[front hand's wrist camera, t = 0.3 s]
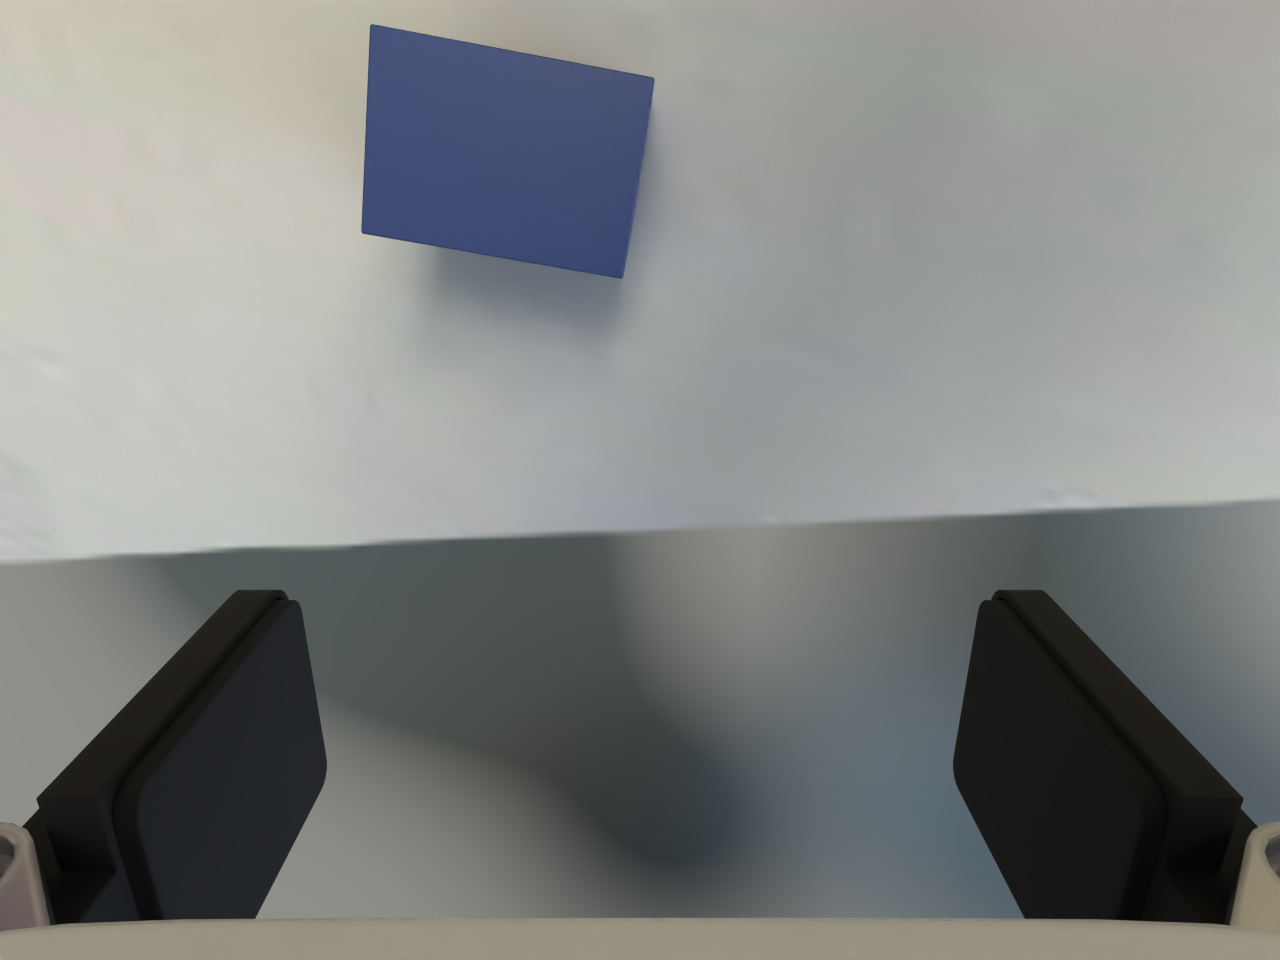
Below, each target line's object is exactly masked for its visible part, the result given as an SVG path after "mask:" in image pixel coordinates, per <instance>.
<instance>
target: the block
mask: <svg viewBox="0 0 1280 960" xmlns="http://www.w3.org/2000/svg"><path fill="white" fill-rule="evenodd" d="M653 88H654V78H653V77H648V76H642V75H637V74H632V73H627V72H621V71H616V70H611V69H606V68H600V67H595V66H590V65H584V64H579V63H574V62H569V61H563V60H558V59H553V58H548V57H542V56H537V55H532V54H526V53H521V52H516V51H511V50H505V49H500V48H495V47H490V46H484V45H479V44H474V43H468V42H463V41H458V40H453V39H447V38H442V37H437V36H432V35H426V34H421V33H416V32H410V31H405V30H400V29H395V28H389V27H384V26H379V25H374V24H372V25H371V26H370V43H369V66H368V90H367V113H366V137H365V160H364V184H363V207H362V233H363V234H369V235H374V236H380V237H386V238H391V239H397V240H403V241H409V242H414V243H420V244H426V245H431V246H437V247H443V248H449V249H454V250H460V251H466V252H471V253H477V254H483V255H489V256H494V257H500V258H506V259H511V260H517V261H523V262H529V263H534V264H540V265H546V266H551V267H557V268H563V269H569V270H574V271H580V272H586V273H591V274H597V275H603V276H609V277H614V278H620V279H621V278H623V274H624V269H625V263H626V258H627V252H628V246H629V240H630V234H631V228H632V221H633V215H634V209H635V203H636V196H637V190H638V184H639V178H640V172H641V165H642V159H643V153H644V147H645V140H646V134H647V128H648V122H649V115H650V109H651V103H652V96H653Z"/></svg>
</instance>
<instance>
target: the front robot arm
mask: <svg viewBox="0 0 1280 960" xmlns="http://www.w3.org/2000/svg"><path fill="white" fill-rule="evenodd" d="M326 771H327V759H326V753H325V746H324V740H323V735H322V729H321V723H320V717H319V711H318V705H317V699H316V693H315V687H314V681H313V675H312V669H311V663H310V657H309V651H308V645H307V639H306V633H305V627H304V622H303V615H302V610H301V607H300V605H299V603H298V602H297V601H296V600H289V599H288V597H287V595H286V593H285V592H283V591H282V590H238V591H236V592H235V593H233V594H232V595H231V596H230V597H229V598H228V599H227V600H226V602H225V603H224V604H223V605H222V606H221V607H220V608H219V609H218V610H217V611H216V612H215V613H214V614H213V615H212V616H211V617H210V618H209V619H208V620H207V621H206V622H205V623H204V624H203V626H202V627H201V628H200V629H199V630H198V631H197V632H196V633H195V634H194V635H193V636H192V637H191V638H190V639H189V640H188V641H187V642H186V643H185V644H184V645H183V646H182V647H181V648H180V649H179V650H178V652H177V653H176V654H175V655H174V656H173V657H172V658H171V659H170V660H169V661H168V662H167V663H166V664H165V665H164V666H163V667H162V668H161V669H160V670H159V671H158V672H157V673H156V674H155V676H154V677H153V678H152V679H151V680H150V681H149V682H148V683H147V684H146V685H145V686H144V687H143V688H142V689H141V690H140V691H139V692H138V693H137V694H136V695H135V696H134V697H133V698H132V699H131V701H130V702H129V703H128V704H127V705H126V706H125V707H124V708H123V709H122V710H121V711H120V712H119V713H118V714H117V715H116V716H115V717H114V718H113V719H112V720H111V721H110V722H109V723H108V724H107V726H106V727H105V728H104V729H103V730H102V731H101V732H100V733H99V734H98V735H97V736H96V737H95V738H94V739H93V740H92V741H91V742H90V743H89V744H88V745H87V746H86V747H85V748H84V749H83V750H82V752H81V753H80V754H79V755H78V756H77V757H76V758H75V759H74V760H73V761H72V762H71V763H70V764H69V765H68V766H67V767H66V768H65V769H64V770H63V771H62V772H61V773H60V774H59V776H58V777H57V778H56V779H55V780H54V781H53V782H52V783H51V784H50V785H49V786H48V787H47V788H46V789H45V790H44V791H43V792H42V793H41V794H40V795H39V796H38V797H37V802H38V805H39V809H38V810H37V812H36V813H35V814H34V815H33V816H32V817H31V818H30V819H29V820H28V821H27V822H26V823H25V824H24V825H23V826H22V827H20V826H18V825H16V824H14V823H4V822H0V960H1280V822H1277V823H1266V824H1264V825H1262V826H1260V827H1258V826H1257V825H1256V824H1255V823H1254V822H1253V821H1252V820H1251V819H1250V818H1249V817H1248V816H1247V815H1246V814H1245V813H1244V811H1243V810H1242V809H1241V805H1242V802H1243V797H1242V796H1241V795H1240V794H1239V793H1238V792H1237V791H1236V790H1235V789H1234V788H1233V787H1232V786H1231V785H1230V784H1229V783H1228V782H1227V781H1226V780H1225V779H1224V778H1223V777H1222V775H1221V774H1220V773H1219V772H1218V771H1217V770H1216V769H1215V768H1214V767H1213V766H1212V765H1211V764H1210V763H1209V762H1208V761H1207V760H1206V759H1205V758H1204V757H1203V756H1202V755H1201V754H1200V753H1199V752H1198V750H1197V749H1196V748H1195V747H1194V746H1193V745H1192V744H1191V743H1190V742H1189V741H1188V740H1187V739H1186V738H1185V737H1184V736H1183V735H1182V734H1181V733H1180V732H1179V731H1178V730H1177V729H1176V728H1175V727H1174V725H1173V724H1172V723H1171V722H1170V721H1169V720H1168V719H1167V718H1166V717H1165V716H1164V715H1163V714H1162V713H1161V712H1160V711H1159V710H1158V709H1157V708H1156V707H1155V706H1154V705H1153V704H1152V703H1151V702H1150V700H1149V699H1148V698H1147V697H1146V696H1145V695H1144V694H1143V693H1142V692H1141V691H1140V690H1139V689H1138V688H1137V687H1136V686H1135V685H1134V684H1133V683H1132V682H1131V681H1130V680H1129V679H1128V678H1127V677H1126V676H1125V674H1124V673H1123V672H1122V671H1121V670H1120V669H1119V668H1118V667H1117V666H1116V665H1115V664H1114V663H1113V662H1112V661H1111V660H1110V659H1109V658H1108V657H1107V656H1106V655H1105V654H1104V653H1103V652H1102V650H1101V649H1100V648H1099V647H1098V646H1097V645H1096V644H1095V643H1094V642H1093V641H1092V640H1091V639H1090V638H1089V637H1088V636H1087V635H1086V634H1085V633H1084V632H1083V631H1082V630H1081V629H1080V628H1079V627H1078V625H1077V624H1076V623H1075V622H1074V621H1073V620H1072V619H1071V618H1070V617H1069V616H1068V615H1067V614H1066V613H1065V612H1064V611H1063V610H1062V609H1061V608H1060V607H1059V606H1058V605H1057V604H1056V603H1055V602H1054V600H1053V599H1052V598H1051V597H1050V596H1049V595H1048V594H1047V593H1045V592H1044V591H1042V590H998V591H996V592H995V593H994V595H993V597H992V599H991V600H984V601H983V602H982V603H981V605H980V607H979V610H978V615H977V621H976V627H975V633H974V639H973V645H972V651H971V657H970V663H969V669H968V675H967V681H966V687H965V693H964V699H963V705H962V711H961V717H960V723H959V729H958V735H957V740H956V746H955V753H954V759H953V771H954V777H955V781H956V784H957V787H958V789H959V791H960V793H961V795H962V797H963V799H964V801H965V803H966V805H967V807H968V809H969V811H970V813H971V815H972V817H973V819H974V821H975V822H976V824H977V826H978V828H979V830H980V832H981V834H982V836H983V838H984V840H985V842H986V844H987V846H988V848H989V850H990V852H991V854H992V856H993V857H994V859H995V861H996V863H997V865H998V867H999V869H1000V871H1001V873H1002V875H1003V877H1004V879H1005V881H1006V883H1007V885H1008V887H1009V889H1010V891H1011V893H1012V894H1013V896H1014V898H1015V900H1016V902H1017V904H1018V906H1019V908H1020V910H1021V912H1022V914H1023V916H1024V918H1025V919H956V918H955V919H954V918H326V919H325V918H324V919H255V918H256V916H257V914H258V912H259V910H260V908H261V906H262V904H263V902H264V900H265V898H266V896H267V894H268V893H269V891H270V889H271V887H272V885H273V883H274V881H275V879H276V877H277V875H278V873H279V871H280V869H281V867H282V865H283V863H284V861H285V859H286V858H287V856H288V854H289V852H290V850H291V848H292V846H293V844H294V842H295V840H296V838H297V836H298V834H299V832H300V830H301V828H302V826H303V824H304V823H305V821H306V819H307V817H308V815H309V813H310V811H311V809H312V807H313V805H314V803H315V801H316V799H317V797H318V795H319V793H320V791H321V789H322V787H323V784H324V781H325V777H326Z"/></svg>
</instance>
